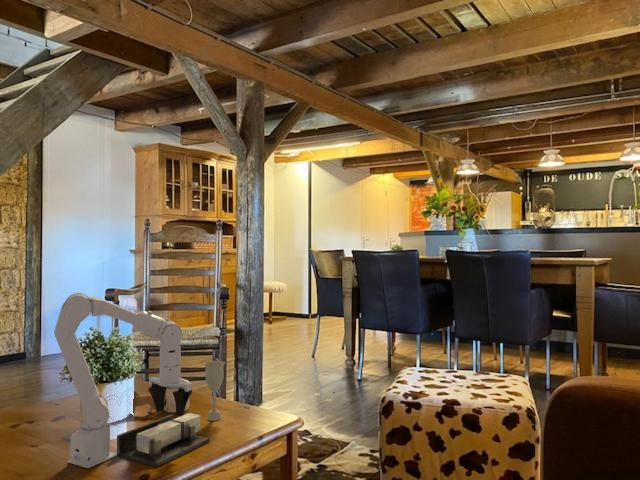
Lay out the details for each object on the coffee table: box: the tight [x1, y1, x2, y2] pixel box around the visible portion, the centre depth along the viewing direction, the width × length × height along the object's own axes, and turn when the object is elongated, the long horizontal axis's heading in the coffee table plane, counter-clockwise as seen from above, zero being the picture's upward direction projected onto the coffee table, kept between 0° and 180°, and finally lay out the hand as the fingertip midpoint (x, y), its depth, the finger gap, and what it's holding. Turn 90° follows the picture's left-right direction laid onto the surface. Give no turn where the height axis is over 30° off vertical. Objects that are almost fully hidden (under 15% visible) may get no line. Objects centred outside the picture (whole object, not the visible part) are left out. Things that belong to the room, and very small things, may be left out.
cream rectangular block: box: [137, 412, 201, 454], centre depth 149 cm, size 20×4×4 cm, turn 151°
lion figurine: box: [133, 391, 166, 416], centre depth 178 cm, size 15×5×9 cm, turn 110°
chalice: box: [203, 360, 226, 422], centre depth 174 cm, size 7×7×18 cm
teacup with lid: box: [164, 377, 191, 414], centre depth 182 cm, size 12×9×12 cm
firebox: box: [116, 414, 210, 468], centre depth 148 cm, size 20×15×6 cm
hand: (170, 413), depth 149 cm, fingers open, 7 cm apart
